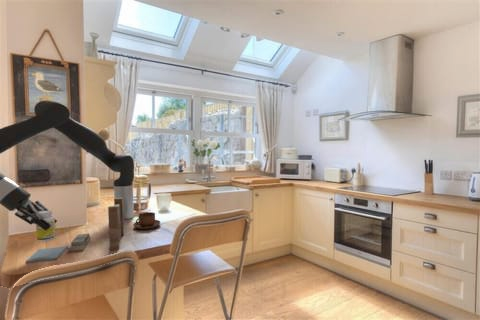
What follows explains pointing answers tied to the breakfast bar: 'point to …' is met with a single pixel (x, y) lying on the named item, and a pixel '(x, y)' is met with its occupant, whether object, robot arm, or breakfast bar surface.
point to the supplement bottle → (49, 233)
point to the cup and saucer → (146, 221)
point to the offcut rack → (114, 229)
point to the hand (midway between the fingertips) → (51, 225)
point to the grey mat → (47, 254)
